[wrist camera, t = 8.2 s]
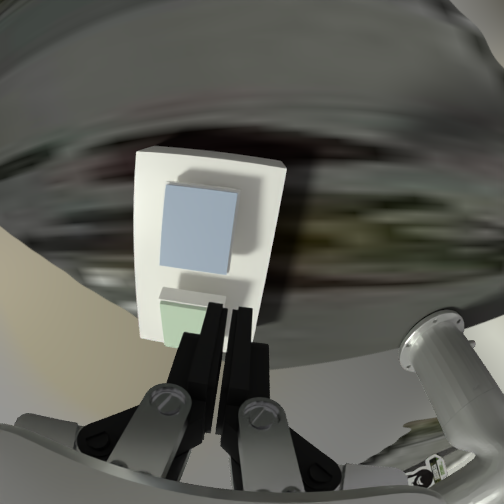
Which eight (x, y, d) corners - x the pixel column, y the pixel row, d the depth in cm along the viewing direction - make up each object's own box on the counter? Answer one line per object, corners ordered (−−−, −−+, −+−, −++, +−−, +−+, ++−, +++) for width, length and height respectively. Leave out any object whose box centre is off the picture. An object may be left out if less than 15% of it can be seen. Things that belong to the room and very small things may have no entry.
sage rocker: (226, 296, 27) (224, 312, 25) (220, 340, 31) (219, 355, 29) (162, 286, 26) (157, 301, 25) (167, 332, 30) (163, 346, 29)
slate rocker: (240, 189, 24) (240, 191, 22) (229, 269, 26) (228, 277, 24) (170, 180, 23) (163, 181, 22) (163, 259, 25) (157, 267, 23)
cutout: (453, 480, 51) (385, 515, 56) (453, 480, 52) (387, 515, 57) (437, 448, 65) (375, 483, 70) (438, 449, 66) (377, 484, 71)
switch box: (281, 160, 28) (288, 170, 23) (250, 327, 37) (249, 360, 32) (152, 145, 27) (130, 152, 22) (149, 312, 36) (136, 342, 31)
